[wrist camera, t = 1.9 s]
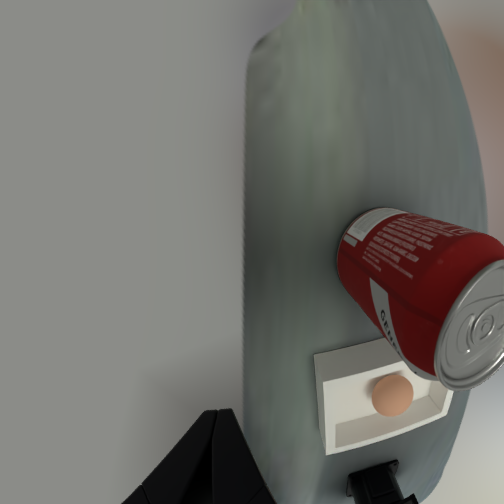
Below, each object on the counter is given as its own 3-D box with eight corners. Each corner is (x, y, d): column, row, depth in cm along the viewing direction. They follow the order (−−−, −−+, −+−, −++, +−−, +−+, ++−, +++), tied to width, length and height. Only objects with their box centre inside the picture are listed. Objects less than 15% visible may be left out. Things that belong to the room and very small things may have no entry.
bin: (431, 394, 23) (446, 415, 20) (319, 428, 24) (326, 455, 20) (444, 318, 21) (466, 337, 18) (313, 354, 21) (322, 382, 18)
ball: (401, 391, 22) (416, 416, 19) (365, 403, 22) (377, 430, 19) (405, 361, 21) (423, 386, 18) (366, 373, 21) (381, 400, 18)
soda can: (324, 218, 19) (424, 274, 7) (411, 198, 19) (543, 226, 7) (341, 309, 21) (415, 426, 9) (419, 284, 20) (523, 363, 9)
